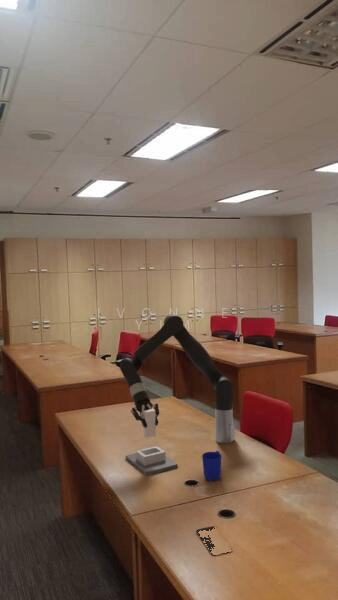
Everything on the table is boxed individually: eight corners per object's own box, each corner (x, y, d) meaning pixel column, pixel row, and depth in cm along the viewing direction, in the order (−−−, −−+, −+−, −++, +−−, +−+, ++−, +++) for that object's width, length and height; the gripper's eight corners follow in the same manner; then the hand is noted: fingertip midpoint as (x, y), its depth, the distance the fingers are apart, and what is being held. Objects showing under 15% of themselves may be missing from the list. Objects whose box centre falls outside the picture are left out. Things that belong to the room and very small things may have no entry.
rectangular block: (155, 435, 214) (155, 410, 213) (146, 437, 211) (145, 412, 211) (153, 434, 216) (152, 409, 215) (143, 436, 214) (143, 410, 213)
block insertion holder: (177, 467, 209) (177, 455, 208) (146, 475, 201) (146, 463, 200) (155, 451, 228) (154, 440, 227) (125, 458, 220) (125, 447, 220)
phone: (212, 555, 142) (194, 529, 156) (212, 558, 142) (194, 532, 156) (233, 550, 144) (215, 525, 159) (233, 553, 144) (215, 527, 159)
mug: (227, 472, 202) (226, 450, 201) (218, 483, 191) (217, 460, 190) (209, 469, 205) (209, 447, 205) (199, 480, 194) (199, 457, 194)
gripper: (127, 392, 215) (139, 424, 206) (155, 388, 223) (167, 419, 213) (123, 401, 220) (135, 432, 211) (150, 396, 227) (162, 427, 218)
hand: (151, 425), depth 212 cm, fingers closed on rectangular block, 5 cm apart
